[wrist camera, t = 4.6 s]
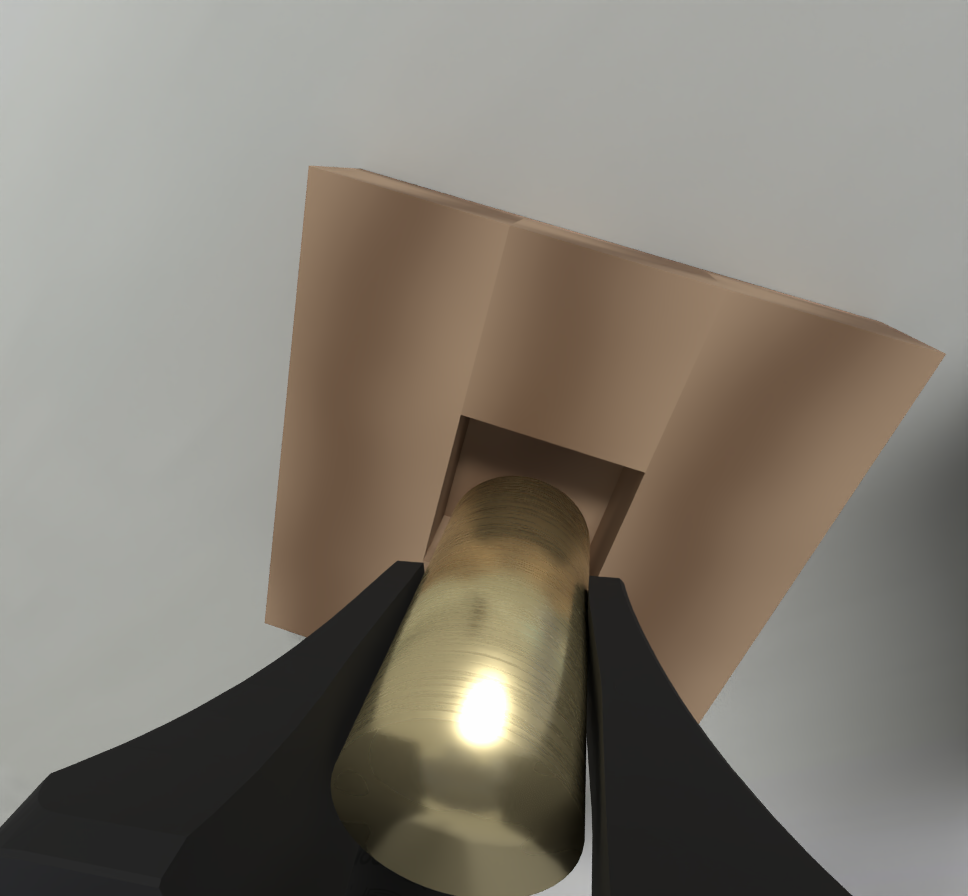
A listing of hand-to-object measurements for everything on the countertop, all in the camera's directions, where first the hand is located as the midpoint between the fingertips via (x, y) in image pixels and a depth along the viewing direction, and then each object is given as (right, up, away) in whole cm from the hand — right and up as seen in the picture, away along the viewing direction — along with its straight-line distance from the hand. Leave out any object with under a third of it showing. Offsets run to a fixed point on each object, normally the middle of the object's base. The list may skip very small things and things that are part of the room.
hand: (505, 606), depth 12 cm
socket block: (+1, +3, +6) cm, 6 cm away
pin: (0, +1, +2) cm, 2 cm away
